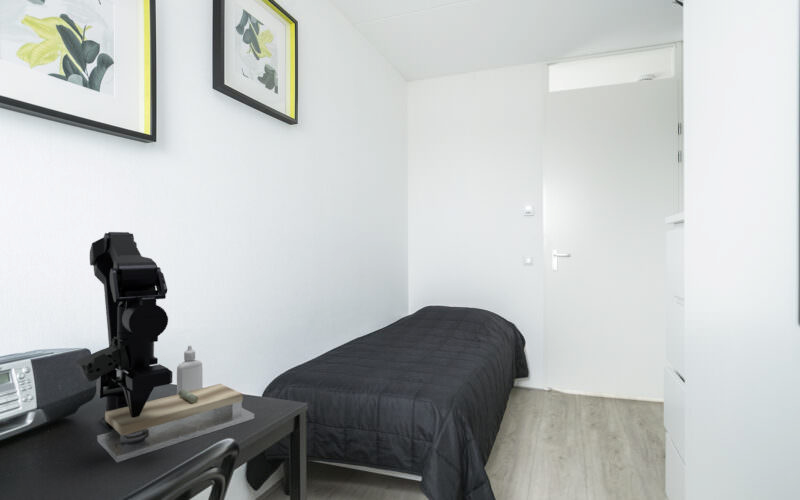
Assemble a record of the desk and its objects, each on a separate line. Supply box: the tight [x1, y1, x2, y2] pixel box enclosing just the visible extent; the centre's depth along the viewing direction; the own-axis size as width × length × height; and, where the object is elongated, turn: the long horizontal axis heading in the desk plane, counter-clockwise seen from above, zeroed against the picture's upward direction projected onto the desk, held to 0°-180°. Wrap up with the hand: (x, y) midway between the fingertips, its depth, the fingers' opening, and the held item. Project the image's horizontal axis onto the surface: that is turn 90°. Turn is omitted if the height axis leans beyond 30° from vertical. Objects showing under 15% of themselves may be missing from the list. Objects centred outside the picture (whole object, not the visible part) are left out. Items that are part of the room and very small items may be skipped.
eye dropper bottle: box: [176, 345, 204, 394], centre depth 106 cm, size 4×6×12 cm
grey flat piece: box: [96, 401, 255, 463], centre depth 86 cm, size 12×25×4 cm, turn 138°
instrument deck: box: [104, 383, 244, 436], centre depth 86 cm, size 10×22×3 cm, turn 138°
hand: (135, 416), depth 79 cm, fingers closed, pressing on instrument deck
